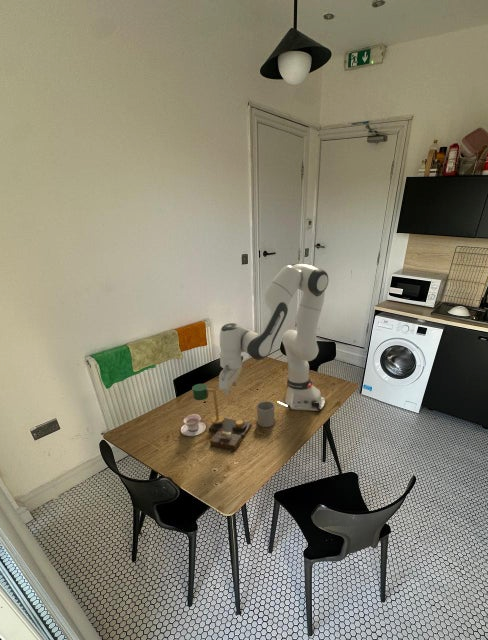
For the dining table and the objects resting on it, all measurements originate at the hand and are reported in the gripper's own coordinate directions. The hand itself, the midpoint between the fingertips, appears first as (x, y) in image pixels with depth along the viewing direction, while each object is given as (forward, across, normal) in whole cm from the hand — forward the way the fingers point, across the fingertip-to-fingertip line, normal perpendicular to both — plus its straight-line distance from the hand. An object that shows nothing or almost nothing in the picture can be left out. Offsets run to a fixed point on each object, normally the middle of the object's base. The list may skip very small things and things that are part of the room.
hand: (231, 389), depth 145 cm
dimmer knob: (+20, -10, -1) cm, 22 cm away
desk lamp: (+19, +2, +12) cm, 23 cm away
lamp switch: (+19, +1, -4) cm, 19 cm away
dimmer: (+23, -10, -1) cm, 25 cm away
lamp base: (+22, +1, +1) cm, 22 cm away
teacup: (+24, -3, +18) cm, 30 cm away
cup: (+21, +10, -15) cm, 28 cm away
